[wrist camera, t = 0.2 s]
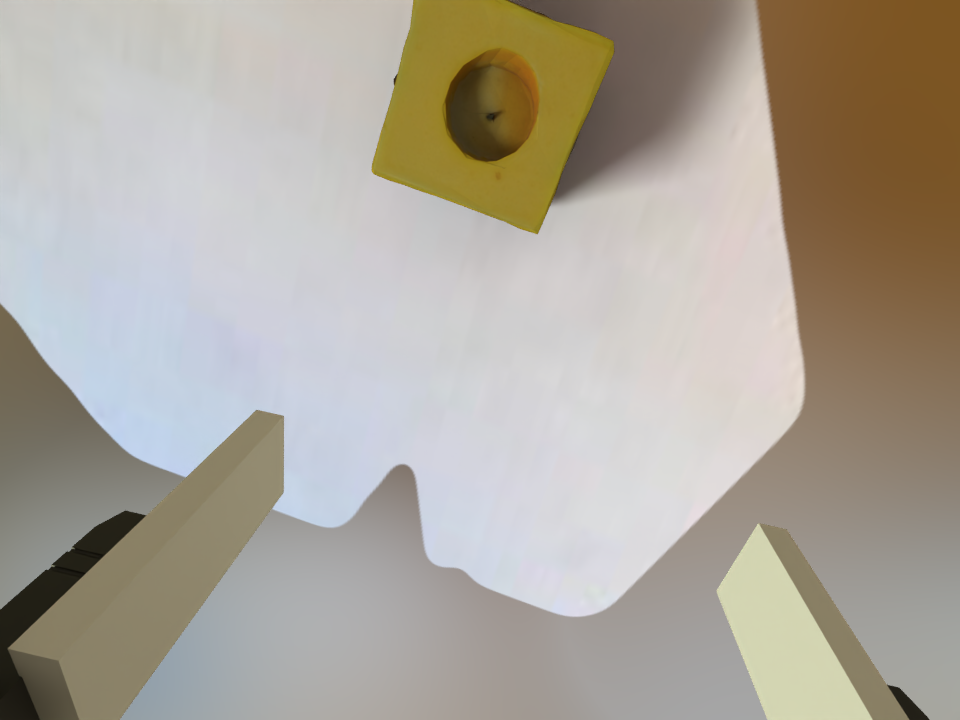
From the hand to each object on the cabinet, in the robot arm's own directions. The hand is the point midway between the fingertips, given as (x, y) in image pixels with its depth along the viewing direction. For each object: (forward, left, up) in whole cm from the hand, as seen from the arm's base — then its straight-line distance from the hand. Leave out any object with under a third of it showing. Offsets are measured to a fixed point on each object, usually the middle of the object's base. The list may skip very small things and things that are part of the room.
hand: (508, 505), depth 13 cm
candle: (-10, +1, -27) cm, 29 cm away
